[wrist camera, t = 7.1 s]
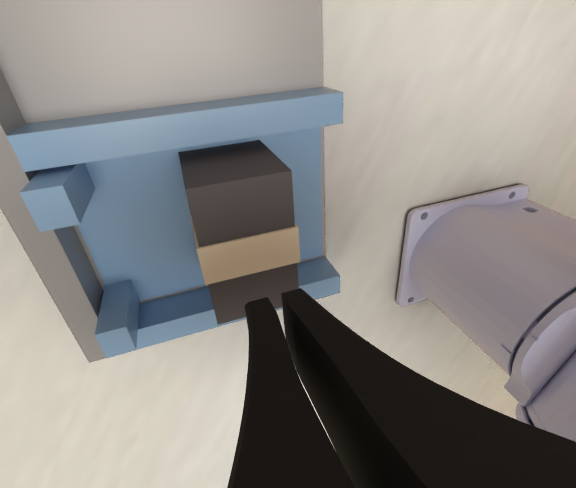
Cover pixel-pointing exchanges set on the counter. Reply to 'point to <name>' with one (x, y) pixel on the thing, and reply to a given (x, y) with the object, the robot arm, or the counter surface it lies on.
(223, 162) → the dark striped block
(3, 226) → the counter surface
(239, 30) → the board
